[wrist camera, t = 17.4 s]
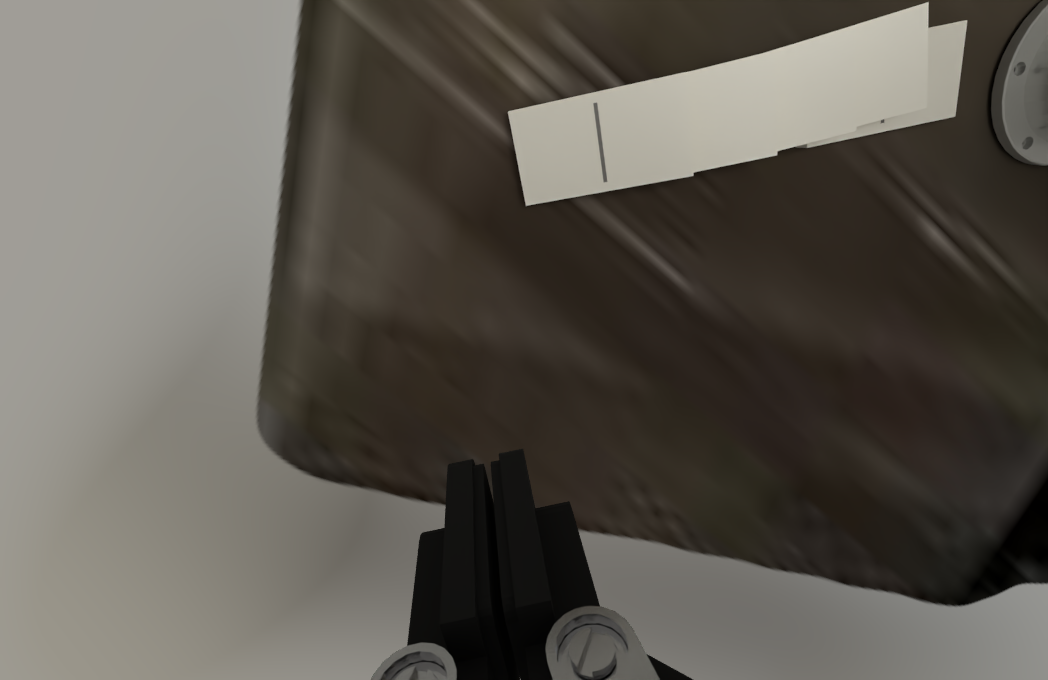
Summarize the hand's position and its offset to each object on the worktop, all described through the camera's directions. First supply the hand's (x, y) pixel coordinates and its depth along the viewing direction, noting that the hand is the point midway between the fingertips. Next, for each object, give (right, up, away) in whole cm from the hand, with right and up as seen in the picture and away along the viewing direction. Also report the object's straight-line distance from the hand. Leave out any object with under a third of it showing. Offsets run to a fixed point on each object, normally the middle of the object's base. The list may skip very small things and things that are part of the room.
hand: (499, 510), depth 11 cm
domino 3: (+11, +18, +24) cm, 32 cm away
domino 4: (+15, +19, +24) cm, 34 cm away
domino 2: (+6, +17, +23) cm, 29 cm away
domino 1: (0, +16, +23) cm, 28 cm away
